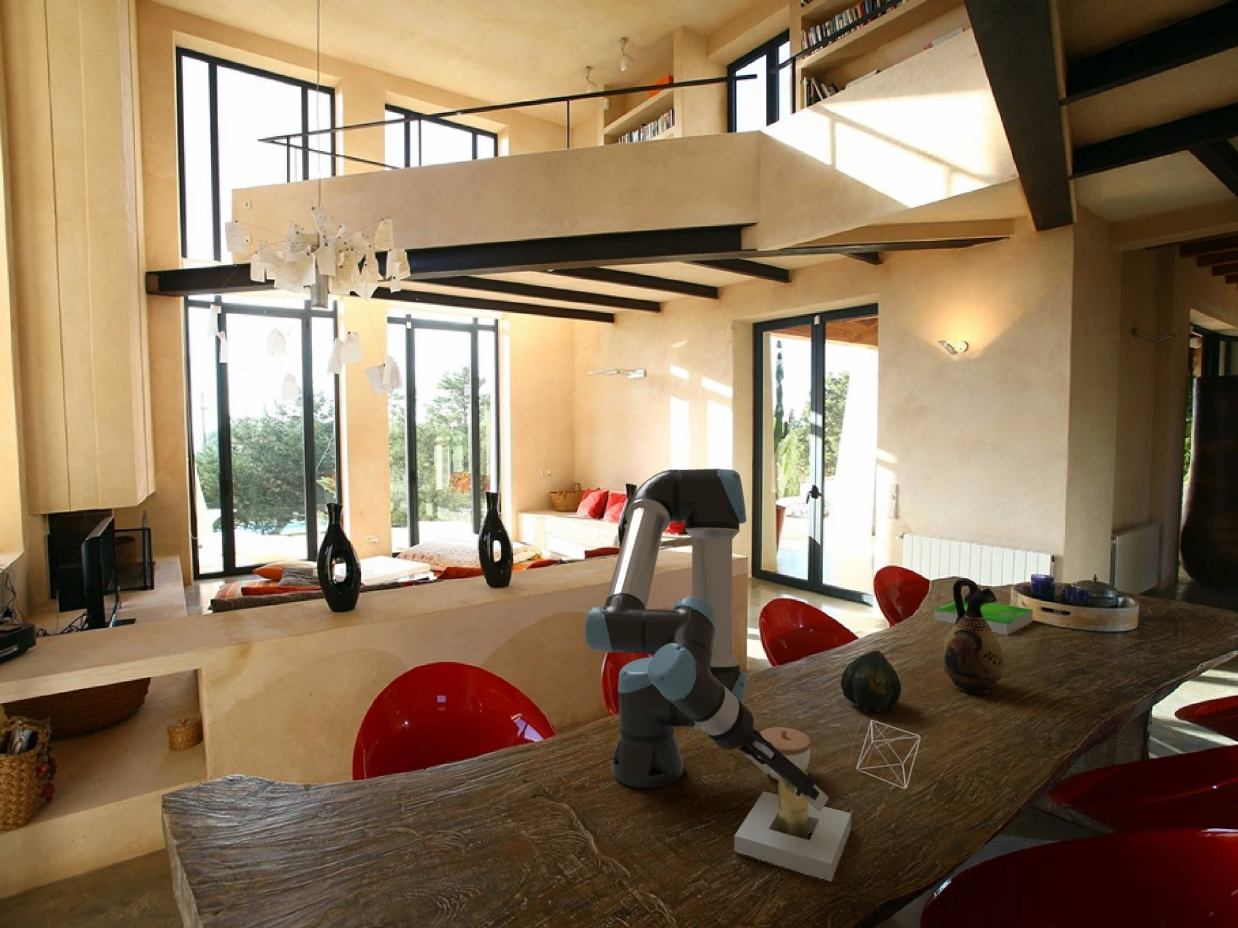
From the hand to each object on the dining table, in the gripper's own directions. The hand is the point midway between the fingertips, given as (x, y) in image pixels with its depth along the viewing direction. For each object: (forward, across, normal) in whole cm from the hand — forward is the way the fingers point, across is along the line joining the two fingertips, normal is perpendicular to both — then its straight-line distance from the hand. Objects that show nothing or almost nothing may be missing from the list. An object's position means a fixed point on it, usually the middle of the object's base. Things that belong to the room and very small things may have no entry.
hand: (795, 784), depth 115 cm
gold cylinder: (+7, 0, -7) cm, 10 cm away
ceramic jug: (+71, -33, +56) cm, 97 cm away
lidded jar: (+17, -19, +2) cm, 26 cm away
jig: (+7, 0, -7) cm, 10 cm away
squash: (+47, -37, +32) cm, 68 cm away
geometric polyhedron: (+30, -9, +16) cm, 35 cm away
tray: (+116, -74, +101) cm, 170 cm away
